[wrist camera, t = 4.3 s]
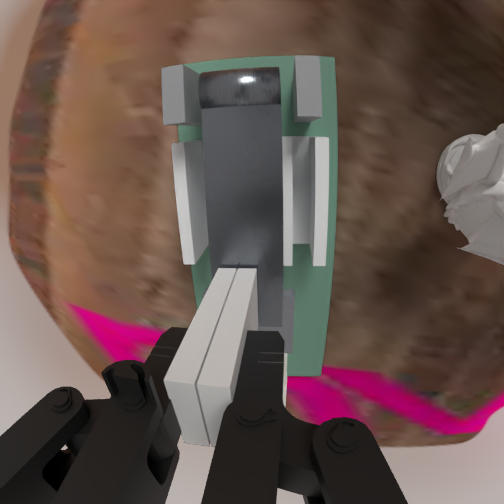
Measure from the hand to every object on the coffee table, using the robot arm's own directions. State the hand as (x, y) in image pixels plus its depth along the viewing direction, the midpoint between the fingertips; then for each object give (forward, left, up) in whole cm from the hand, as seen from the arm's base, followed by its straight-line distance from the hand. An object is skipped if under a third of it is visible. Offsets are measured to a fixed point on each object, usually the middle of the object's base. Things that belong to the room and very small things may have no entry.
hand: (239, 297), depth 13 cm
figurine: (-5, +12, -7) cm, 15 cm away
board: (0, 0, -7) cm, 7 cm away
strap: (-3, 0, -2) cm, 4 cm away
